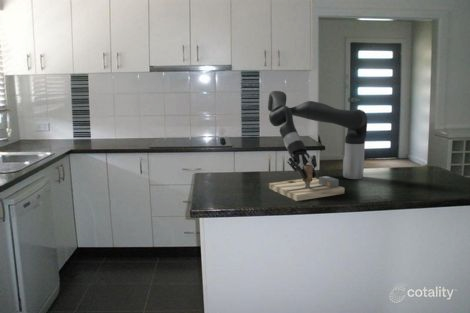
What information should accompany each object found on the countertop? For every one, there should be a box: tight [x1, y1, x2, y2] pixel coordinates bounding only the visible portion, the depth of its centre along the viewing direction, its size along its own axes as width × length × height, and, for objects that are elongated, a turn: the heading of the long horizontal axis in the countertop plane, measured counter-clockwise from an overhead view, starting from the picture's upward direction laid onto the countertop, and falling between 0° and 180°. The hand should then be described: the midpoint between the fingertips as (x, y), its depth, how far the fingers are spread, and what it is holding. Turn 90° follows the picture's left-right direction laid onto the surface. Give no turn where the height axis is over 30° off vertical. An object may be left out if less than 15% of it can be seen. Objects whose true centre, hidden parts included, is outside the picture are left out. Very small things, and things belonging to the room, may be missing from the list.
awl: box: [302, 165, 313, 189], centre depth 179 cm, size 4×4×11 cm
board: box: [268, 177, 345, 202], centre depth 184 cm, size 22×24×3 cm
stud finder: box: [318, 175, 340, 188], centre depth 184 cm, size 8×4×3 cm, turn 26°
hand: (310, 177), depth 177 cm, fingers closed on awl, 4 cm apart
